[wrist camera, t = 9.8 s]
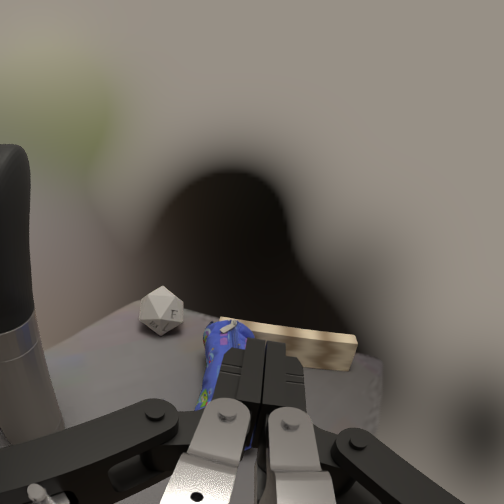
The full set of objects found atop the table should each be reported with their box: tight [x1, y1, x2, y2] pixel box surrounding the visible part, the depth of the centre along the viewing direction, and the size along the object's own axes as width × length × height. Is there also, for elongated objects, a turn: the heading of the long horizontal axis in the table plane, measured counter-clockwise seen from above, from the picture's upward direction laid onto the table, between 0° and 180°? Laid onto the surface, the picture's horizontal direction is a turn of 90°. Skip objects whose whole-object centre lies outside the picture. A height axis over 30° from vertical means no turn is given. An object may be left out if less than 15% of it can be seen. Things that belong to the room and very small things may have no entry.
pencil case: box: [194, 319, 255, 451], centre depth 41 cm, size 22×9×10 cm, turn 2°
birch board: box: [219, 317, 358, 371], centre depth 54 cm, size 24×3×6 cm, turn 85°
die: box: [139, 286, 183, 336], centre depth 58 cm, size 8×9×10 cm
